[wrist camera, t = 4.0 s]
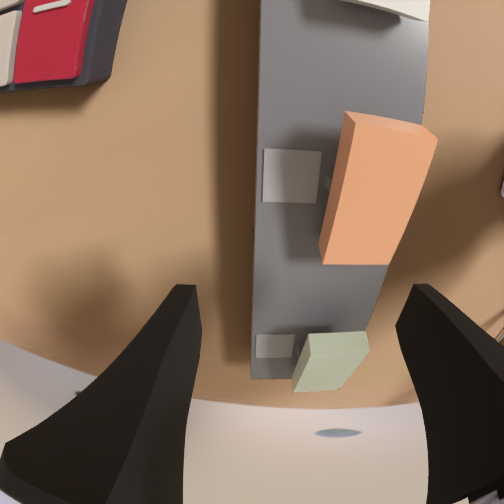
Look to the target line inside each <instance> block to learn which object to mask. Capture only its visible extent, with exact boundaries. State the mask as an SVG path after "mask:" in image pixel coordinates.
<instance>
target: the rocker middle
mask: <svg viewBox="0 0 504 504" xmlns="http://www.w3.org/2000/svg"><path fill="white" fill-rule="evenodd" d="M437 142H438V138H436V137H435V136H434V135H433V134H432V133H431V132H430V131H428V130H427V129H426V128H425V127H424V126H422V125H419V124H415V123H410V122H406V121H401V120H396V119H391V118H386V117H381V116H375V115H369V114H363V113H356V112H350V111H345V112H344V118H343V124H342V130H341V136H340V141H339V147H338V152H337V158H336V163H335V168H334V173H333V178H332V183H331V188H330V193H329V198H328V203H327V207H326V212H325V216H324V221H323V225H322V230H321V234H320V238H319V242H318V246H319V250H320V255H321V259H322V264H345V265H389V263H390V261H391V259H392V257H393V255H394V253H395V251H396V248H397V246H398V244H399V242H400V240H401V237H402V235H403V233H404V231H405V228H406V226H407V224H408V221H409V219H410V217H411V214H412V212H413V209H414V207H415V204H416V202H417V199H418V197H419V194H420V192H421V189H422V186H423V184H424V181H425V178H426V175H427V172H428V170H429V167H430V164H431V161H432V158H433V155H434V152H435V149H436V146H437Z"/></svg>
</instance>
